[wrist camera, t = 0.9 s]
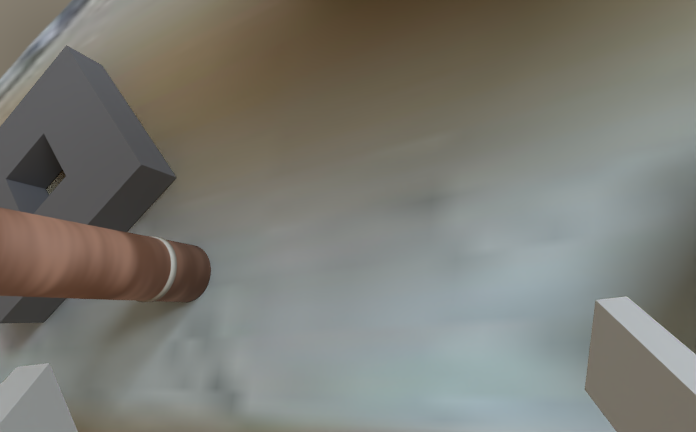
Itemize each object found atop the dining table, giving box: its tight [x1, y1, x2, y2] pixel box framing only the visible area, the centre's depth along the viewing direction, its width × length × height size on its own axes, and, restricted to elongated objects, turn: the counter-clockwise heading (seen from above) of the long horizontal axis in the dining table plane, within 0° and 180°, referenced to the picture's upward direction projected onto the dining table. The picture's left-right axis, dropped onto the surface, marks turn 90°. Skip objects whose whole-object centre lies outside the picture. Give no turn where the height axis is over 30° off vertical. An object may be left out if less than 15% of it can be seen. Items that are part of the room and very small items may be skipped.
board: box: [0, 45, 177, 323], centre depth 45 cm, size 20×18×4 cm
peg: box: [0, 208, 211, 302], centre depth 32 cm, size 5×5×16 cm
